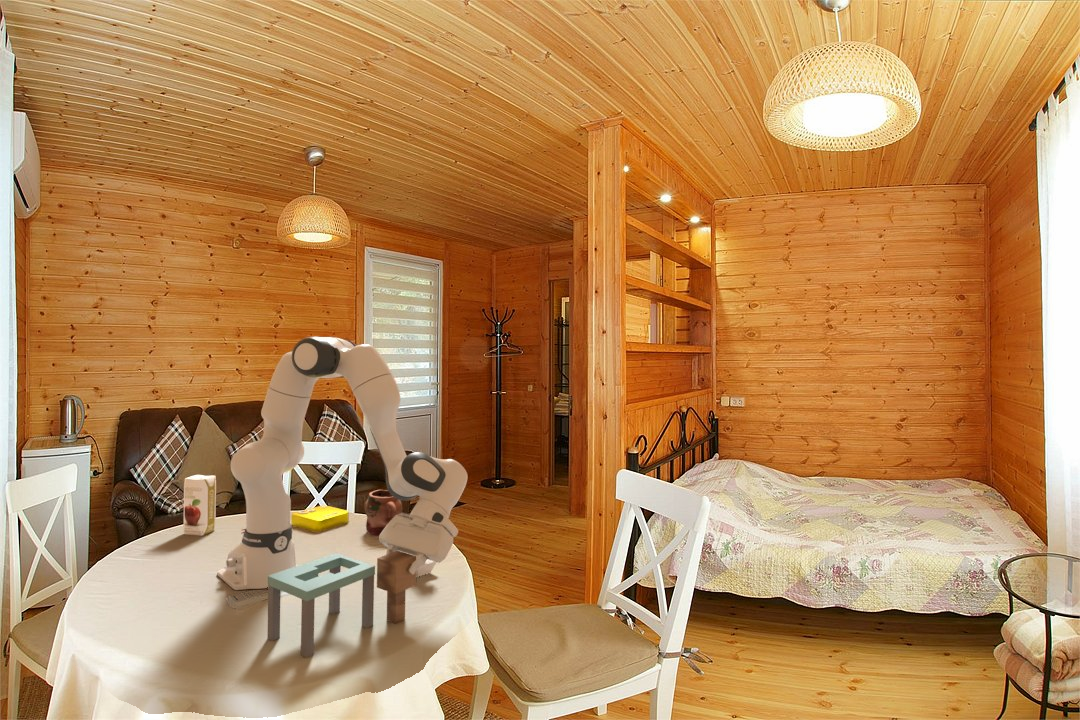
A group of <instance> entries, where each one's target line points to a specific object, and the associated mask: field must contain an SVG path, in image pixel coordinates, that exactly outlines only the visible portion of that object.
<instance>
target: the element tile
mask: <svg viewBox="0 0 1080 720" xmlns="http://www.w3.org/2000/svg"><path fill="white" fill-rule="evenodd" d="M349 516H350V514H349V510H346V509H341V508H338V507H334V506H329V505H325V504H323V505H319V506H314V507H312V508H307V509H304V510H299V511H295V512H292V513H291V520H290V525H291V526H292V527H295V528H299V529H302V530H307V531H310V532H313V533H319V532H323V531H326V530H330V529H333V528H335V527H339V526H342V525H346V524H349V521H350V520H349Z"/></svg>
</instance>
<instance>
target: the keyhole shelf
mask: <svg viewBox="0 0 1080 720" xmlns="http://www.w3.org/2000/svg"><path fill="white" fill-rule="evenodd" d="M298 565H299V566H296V567H293V568H290V569H287V570H284V571H281V572H278V573H275V574H272V575H269V576H268V588H267V636H266V637H267V638H266V639H268V640H270V641H271V642H273V641H275V640H277V639H280V638H281V636H280V635H281V592H283V593H285V594H289V595H291V596H293V597H295V598H298V599H300V600H301V617H300V618H301V623H300V624H301V625H300V627H301V628H300V629H301V630H300V633H301V634H300V656H301V657H304V658H305V659H307V658H310V657H311V656H314V655H315V653H314V652H315V651H314V650H315V649H314V648H315V647H314V645H315V599H316V598H320V597H322V596H325V595H326V594H328V613H330V614H332V615H335V614H337V613H339V612H340V611H341V589H342V588H344V587H346V586H350V585H351V584H354V583H357V582H359V581H362V590H361V591H362V597H361V598H362V599H361V603H362V604H361V612H362V613H361V627H363V628H365V629H369V628H370V627H373V626H374V608H375V606H374V602H375V601H374V599H375V597H374V596H375V595H374V594H375V575H376V566H375V565H374V564H370V563H367V562H365V561H361V560H357V559H356V558H352V557H349V556H346V555H344V554H340V553H337V552H335V553H332V554H329V555H326V556H323V557H319V558H317V559H315V560H311V561H307V562H305V563H303V564H298ZM342 567H343V568H346V569H344V570H342V571H341V568H342ZM326 571H328V572H327V573H324V572H326ZM321 573H324V574H322V575H319V574H321Z"/></svg>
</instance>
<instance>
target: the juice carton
mask: <svg viewBox="0 0 1080 720" xmlns="http://www.w3.org/2000/svg"><path fill="white" fill-rule="evenodd" d="M216 498H217V479H216V475H204V474H203V475H202V474H195V475H191V476H189V477H185V478H184V483H183V534H184V535H188V536H199V537H200V536H205V535H207V534H209V533H212V532H214V531H215V528H216V515H217V514H216V511H217V510H216V509H217V508H216V506H217V505H216V504H217V503H216V502H217V499H216Z"/></svg>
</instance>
